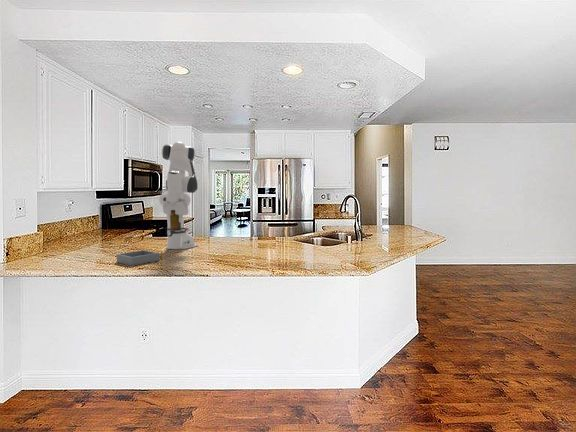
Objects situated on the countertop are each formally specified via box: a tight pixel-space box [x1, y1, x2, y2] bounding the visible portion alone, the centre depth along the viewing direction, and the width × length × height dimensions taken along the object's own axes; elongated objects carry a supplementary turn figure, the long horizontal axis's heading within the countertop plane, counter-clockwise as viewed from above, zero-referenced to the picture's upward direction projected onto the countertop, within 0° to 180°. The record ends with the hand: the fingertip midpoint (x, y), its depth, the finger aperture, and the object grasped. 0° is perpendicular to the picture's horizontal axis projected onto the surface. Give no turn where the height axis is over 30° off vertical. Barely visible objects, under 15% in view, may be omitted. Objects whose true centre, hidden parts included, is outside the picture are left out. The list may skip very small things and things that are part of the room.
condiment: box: [170, 210, 185, 231], centre depth 255 cm, size 7×8×12 cm
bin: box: [116, 249, 160, 267], centre depth 254 cm, size 18×17×5 cm
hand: (176, 221), depth 255 cm, fingers closed on condiment, 6 cm apart
